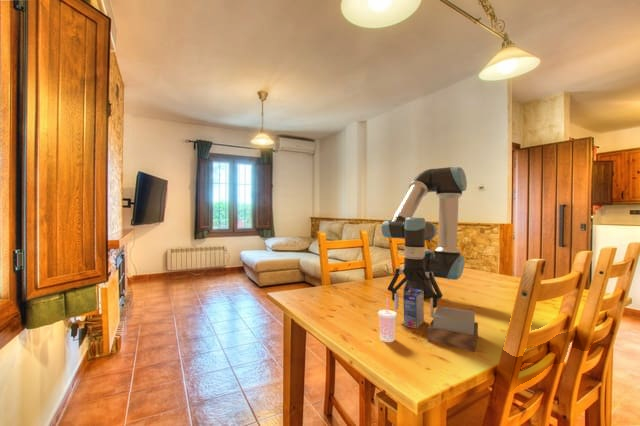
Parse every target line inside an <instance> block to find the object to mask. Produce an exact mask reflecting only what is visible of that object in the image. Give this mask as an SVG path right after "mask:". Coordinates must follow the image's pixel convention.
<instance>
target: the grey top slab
mask: <svg viewBox="0 0 640 426" xmlns="http://www.w3.org/2000/svg"><path fill="white" fill-rule="evenodd" d="M435 309H436V310H434V316H433V317H432V320H433V328H436V329H441V330H447V331H452V332H457V333H463V334H468V335H474V323H475V322H476V321H475V320H476V319H475V318H476V317H475V316H476V315H475V313H476V312H475V310H474V311H473V310H467V309H461V308H454V307H447V306H442V305H441V306H440V305H437V307H436V308H435Z"/></svg>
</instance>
